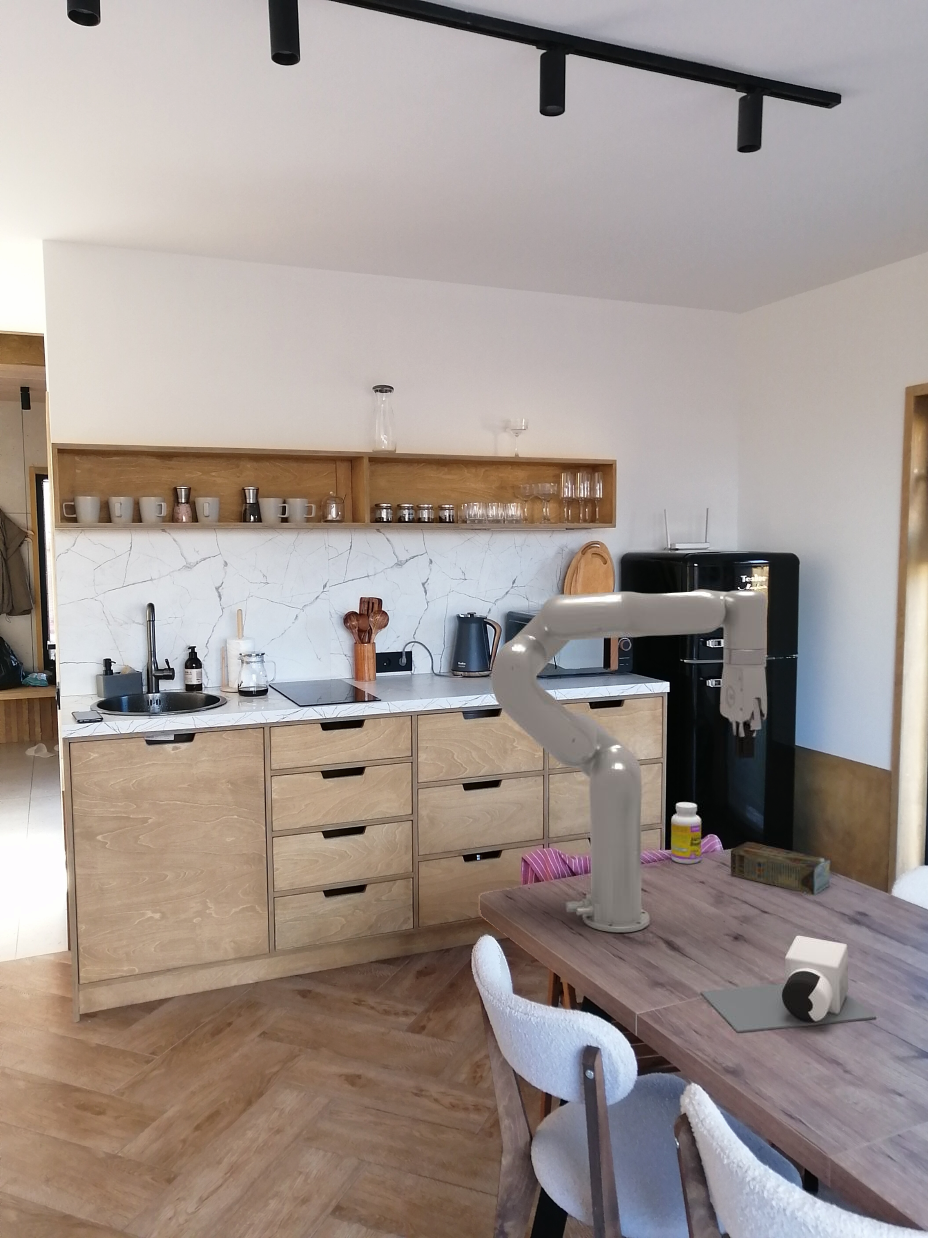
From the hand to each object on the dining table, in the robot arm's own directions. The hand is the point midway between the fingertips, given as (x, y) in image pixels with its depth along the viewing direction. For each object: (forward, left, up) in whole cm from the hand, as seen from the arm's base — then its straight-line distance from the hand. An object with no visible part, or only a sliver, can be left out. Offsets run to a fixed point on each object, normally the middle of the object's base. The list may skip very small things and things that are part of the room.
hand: (744, 757), depth 177 cm
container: (0, -27, -27) cm, 38 cm away
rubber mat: (-8, -30, -32) cm, 45 cm away
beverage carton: (+19, +23, -33) cm, 44 cm away
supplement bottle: (+6, +41, -32) cm, 52 cm away
